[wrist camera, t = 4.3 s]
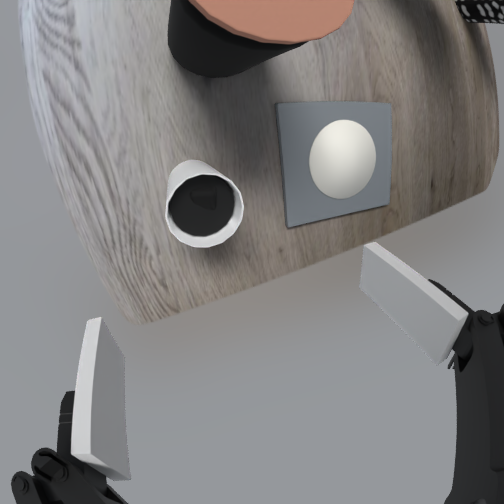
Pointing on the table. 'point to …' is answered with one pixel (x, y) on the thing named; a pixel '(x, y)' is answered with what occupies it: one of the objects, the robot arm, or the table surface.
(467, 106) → the table surface
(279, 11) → the coffee jar
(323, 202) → the board
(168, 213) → the white cup
